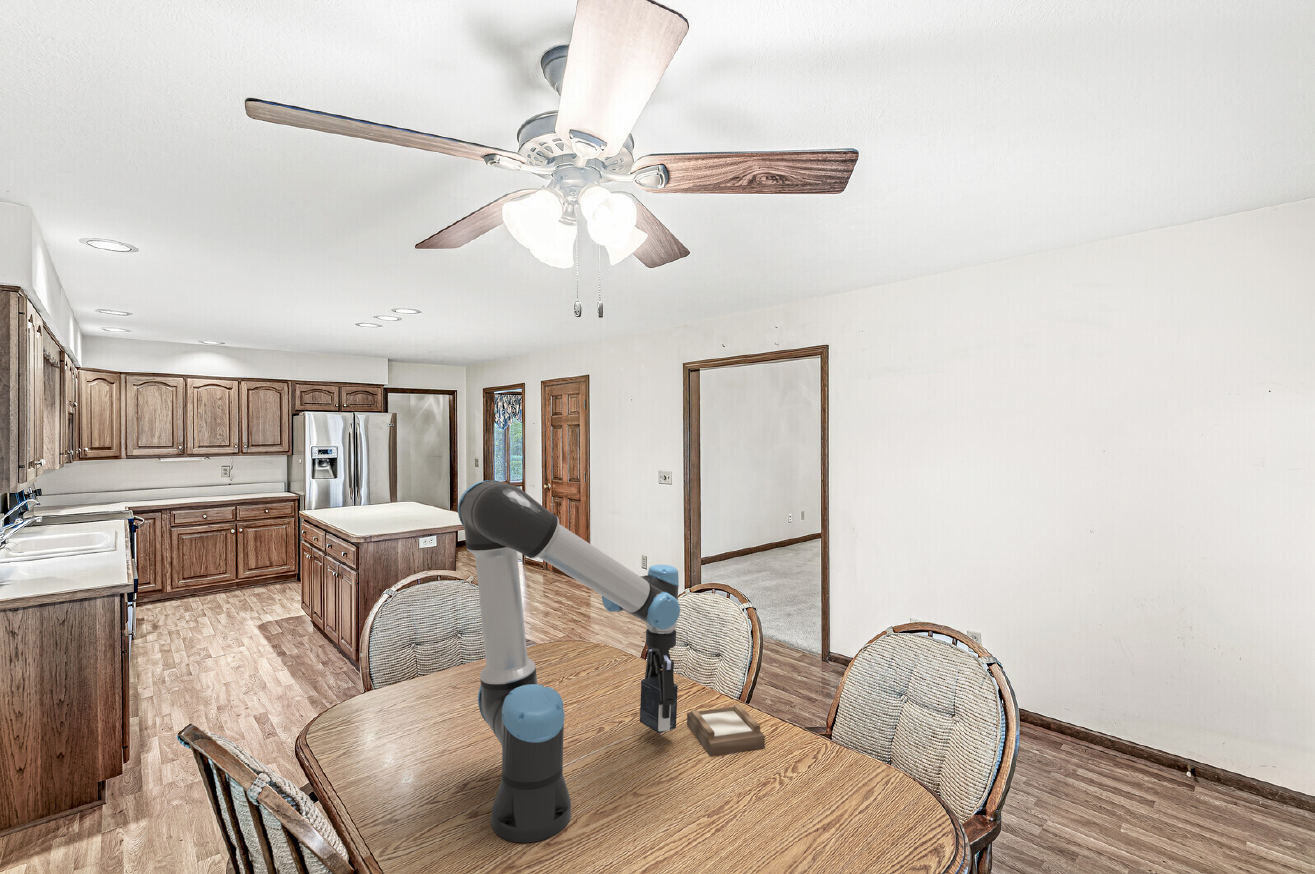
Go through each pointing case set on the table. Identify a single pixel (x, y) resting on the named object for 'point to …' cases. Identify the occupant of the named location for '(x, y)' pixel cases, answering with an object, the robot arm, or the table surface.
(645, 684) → the box
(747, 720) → the stand
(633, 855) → the table surface
